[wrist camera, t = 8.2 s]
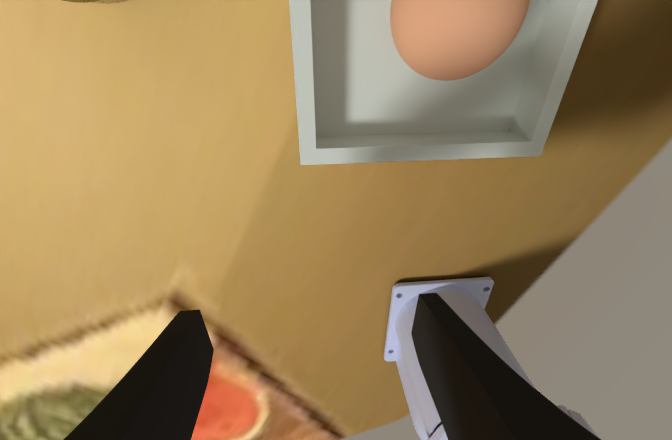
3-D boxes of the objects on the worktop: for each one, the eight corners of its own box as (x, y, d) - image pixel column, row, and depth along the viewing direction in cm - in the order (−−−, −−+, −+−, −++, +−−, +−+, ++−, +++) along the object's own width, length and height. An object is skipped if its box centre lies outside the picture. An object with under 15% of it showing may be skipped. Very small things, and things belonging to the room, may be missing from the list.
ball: (463, 75, 16) (534, 89, 11) (369, 73, 15) (408, 87, 10) (492, -53, 13) (598, -97, 9) (381, -65, 12) (439, -120, 8)
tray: (512, 141, 18) (540, 155, 16) (301, 148, 17) (300, 165, 15) (614, -189, 11) (685, -238, 9) (277, -207, 10) (270, -266, 8)
